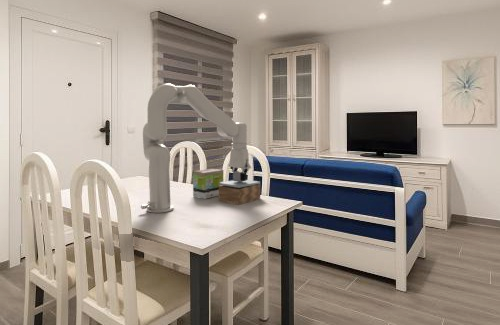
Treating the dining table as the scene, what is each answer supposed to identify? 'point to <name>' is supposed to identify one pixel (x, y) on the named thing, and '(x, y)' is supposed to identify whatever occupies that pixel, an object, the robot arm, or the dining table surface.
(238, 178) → the block
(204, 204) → the dining table surface
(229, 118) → the robot arm
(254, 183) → the lid
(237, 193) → the box
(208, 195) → the tea box
